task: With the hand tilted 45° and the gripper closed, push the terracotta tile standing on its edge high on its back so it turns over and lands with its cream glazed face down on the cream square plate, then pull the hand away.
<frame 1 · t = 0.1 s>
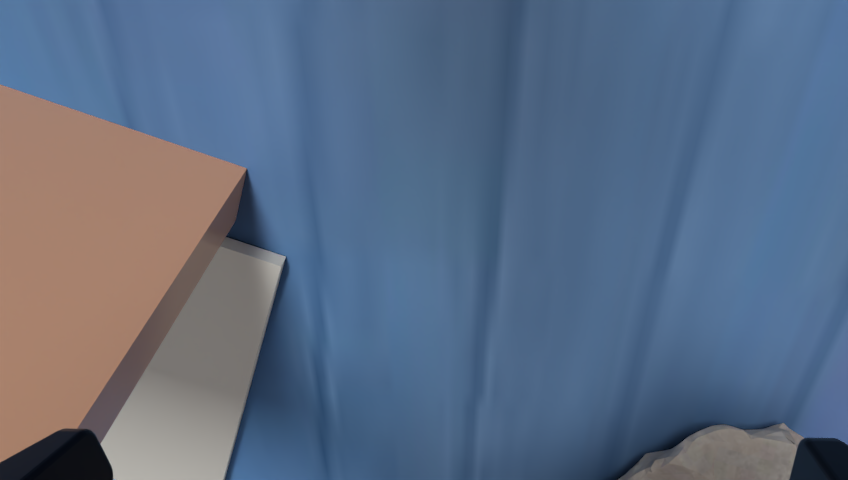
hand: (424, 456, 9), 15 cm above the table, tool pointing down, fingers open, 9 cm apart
cream square plate: (57, 334, 30), on the table
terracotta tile: (67, 140, 25), on the table
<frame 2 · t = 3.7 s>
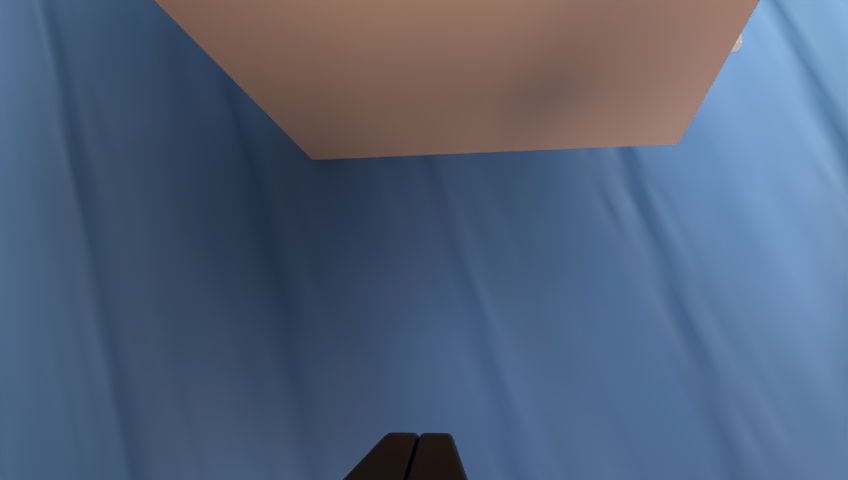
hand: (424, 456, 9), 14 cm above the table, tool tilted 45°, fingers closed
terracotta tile: (488, 116, 24), on the table
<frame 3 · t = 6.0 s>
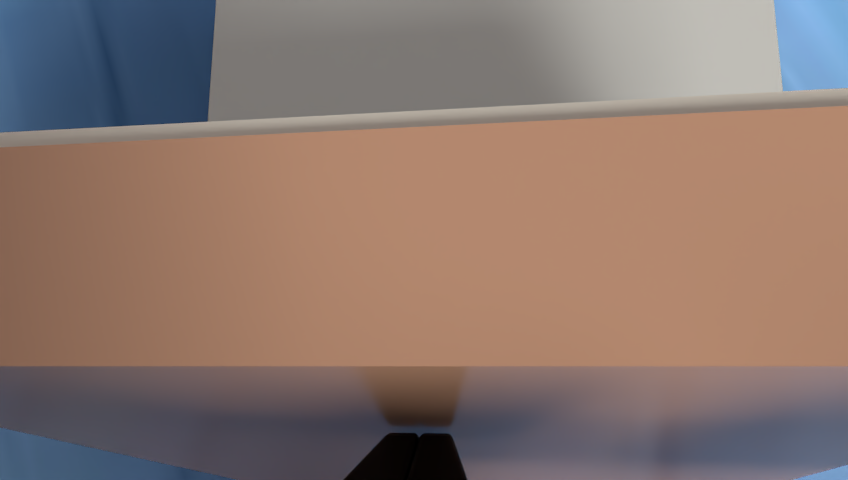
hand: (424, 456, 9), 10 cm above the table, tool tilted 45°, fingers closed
cream square plate: (480, 107, 21), on the table
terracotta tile: (483, 439, 19), on the table, tilted 11°
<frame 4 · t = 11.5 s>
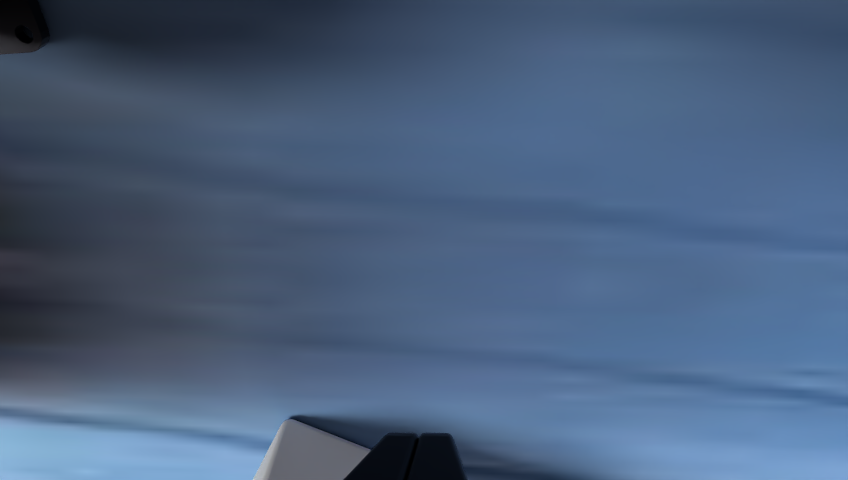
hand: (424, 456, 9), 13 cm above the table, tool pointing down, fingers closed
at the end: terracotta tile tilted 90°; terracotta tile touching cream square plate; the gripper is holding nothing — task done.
